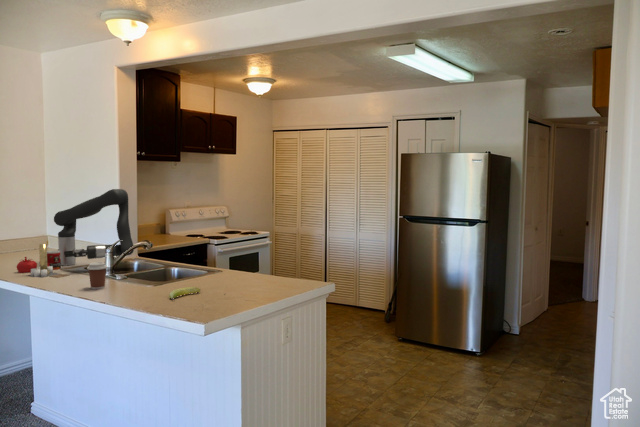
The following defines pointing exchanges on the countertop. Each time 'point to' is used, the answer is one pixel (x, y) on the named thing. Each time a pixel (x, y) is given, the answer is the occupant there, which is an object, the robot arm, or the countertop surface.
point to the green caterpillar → (183, 291)
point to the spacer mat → (42, 272)
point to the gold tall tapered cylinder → (43, 257)
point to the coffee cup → (97, 274)
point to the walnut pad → (59, 275)
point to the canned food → (54, 259)
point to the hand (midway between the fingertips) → (64, 254)
